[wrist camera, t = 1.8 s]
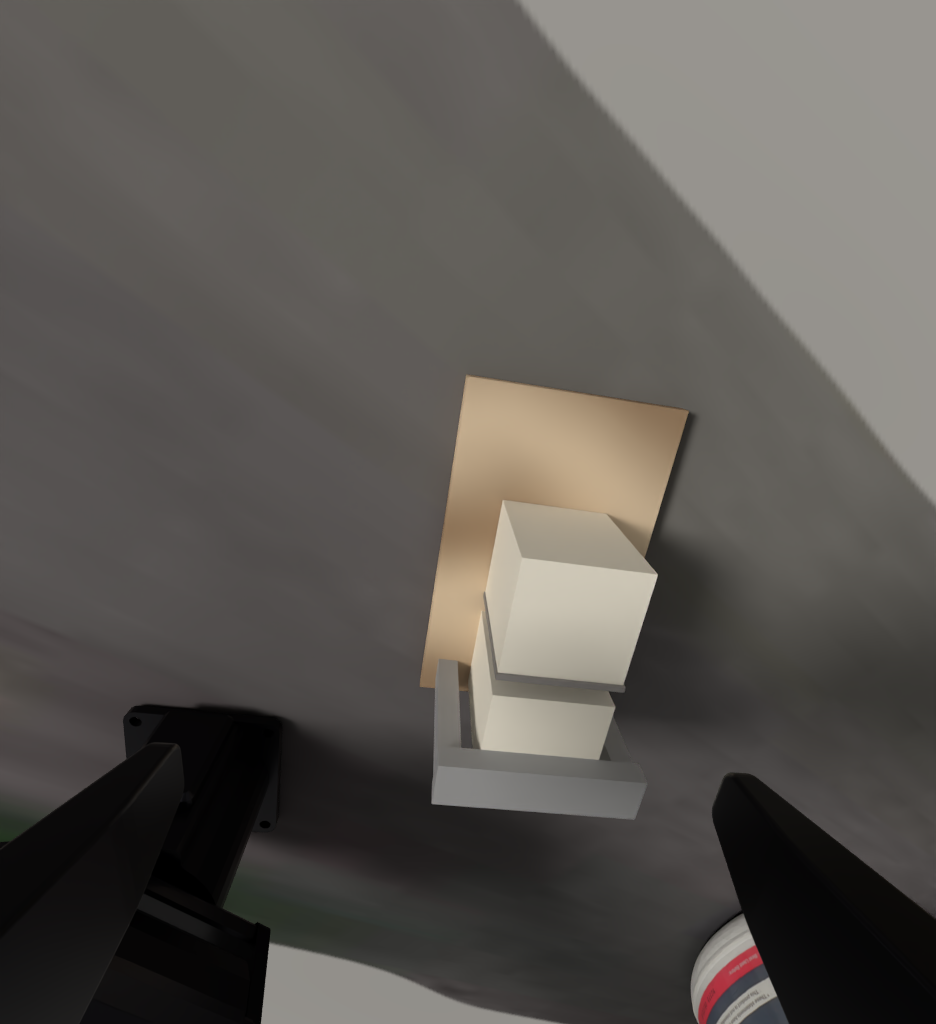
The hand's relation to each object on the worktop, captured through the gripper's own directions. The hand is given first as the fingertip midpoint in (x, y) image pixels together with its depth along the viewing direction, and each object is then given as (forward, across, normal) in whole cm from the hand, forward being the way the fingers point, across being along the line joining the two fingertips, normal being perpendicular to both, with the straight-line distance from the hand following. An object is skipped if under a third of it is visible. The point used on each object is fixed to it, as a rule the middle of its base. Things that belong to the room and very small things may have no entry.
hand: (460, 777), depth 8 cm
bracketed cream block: (+12, -3, +6) cm, 13 cm away
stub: (+12, -4, +1) cm, 12 cm away
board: (+12, -4, +1) cm, 13 cm away
